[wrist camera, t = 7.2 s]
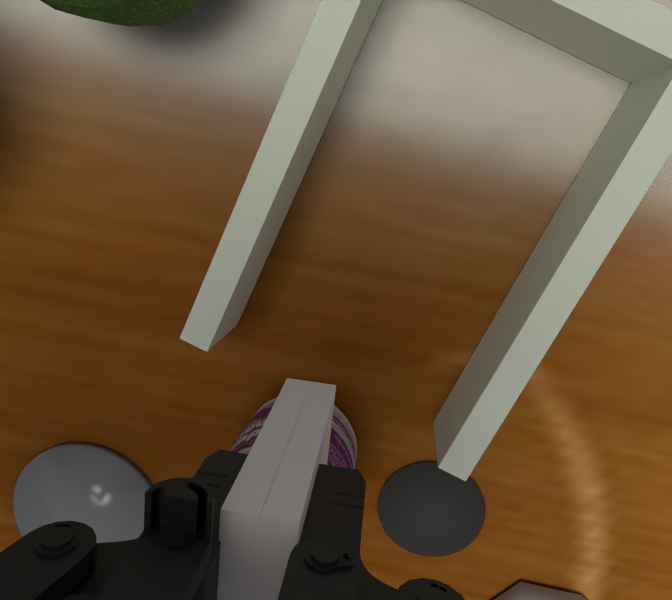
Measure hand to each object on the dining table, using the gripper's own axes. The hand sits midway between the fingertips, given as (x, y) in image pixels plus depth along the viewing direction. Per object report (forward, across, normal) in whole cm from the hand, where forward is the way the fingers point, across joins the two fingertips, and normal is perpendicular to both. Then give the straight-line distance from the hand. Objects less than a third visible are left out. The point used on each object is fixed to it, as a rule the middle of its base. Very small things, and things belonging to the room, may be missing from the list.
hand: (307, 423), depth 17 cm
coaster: (+9, -12, -11) cm, 18 cm away
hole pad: (+8, +5, -8) cm, 13 cm away
